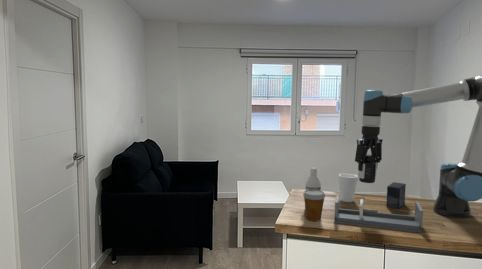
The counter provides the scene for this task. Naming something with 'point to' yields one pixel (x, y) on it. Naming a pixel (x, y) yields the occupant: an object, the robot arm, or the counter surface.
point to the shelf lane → (380, 219)
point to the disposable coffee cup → (313, 204)
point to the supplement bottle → (369, 169)
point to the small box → (396, 195)
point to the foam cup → (347, 186)
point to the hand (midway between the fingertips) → (367, 177)
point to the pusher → (365, 210)
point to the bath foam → (313, 181)
